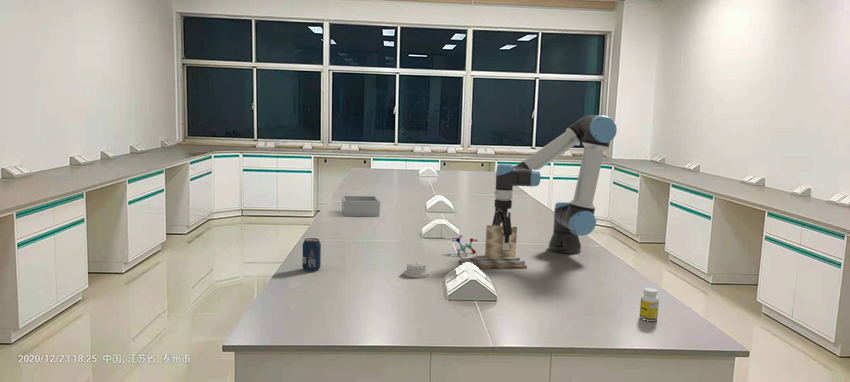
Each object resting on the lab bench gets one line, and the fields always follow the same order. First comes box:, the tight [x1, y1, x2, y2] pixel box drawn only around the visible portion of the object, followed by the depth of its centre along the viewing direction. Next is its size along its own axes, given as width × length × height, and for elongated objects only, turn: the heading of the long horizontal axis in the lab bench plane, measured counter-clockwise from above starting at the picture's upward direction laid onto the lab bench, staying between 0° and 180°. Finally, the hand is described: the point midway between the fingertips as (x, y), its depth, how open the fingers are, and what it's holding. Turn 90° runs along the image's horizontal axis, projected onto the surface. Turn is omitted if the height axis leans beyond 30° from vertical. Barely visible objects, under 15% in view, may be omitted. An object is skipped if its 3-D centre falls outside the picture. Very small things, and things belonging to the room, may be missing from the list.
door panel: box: [484, 224, 518, 258], centre depth 273 cm, size 13×4×14 cm, turn 101°
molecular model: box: [451, 234, 479, 257], centre depth 277 cm, size 12×10×10 cm
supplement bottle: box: [639, 287, 660, 322], centre depth 196 cm, size 5×5×10 cm
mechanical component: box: [403, 261, 430, 279], centre depth 239 cm, size 10×4×10 cm
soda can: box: [301, 237, 322, 273], centre depth 239 cm, size 7×7×12 cm
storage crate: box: [341, 195, 381, 217], centre depth 371 cm, size 21×21×9 cm
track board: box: [458, 257, 528, 270], centre depth 258 cm, size 26×12×2 cm, turn 101°
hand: (500, 246), depth 273 cm, fingers open, 13 cm apart
